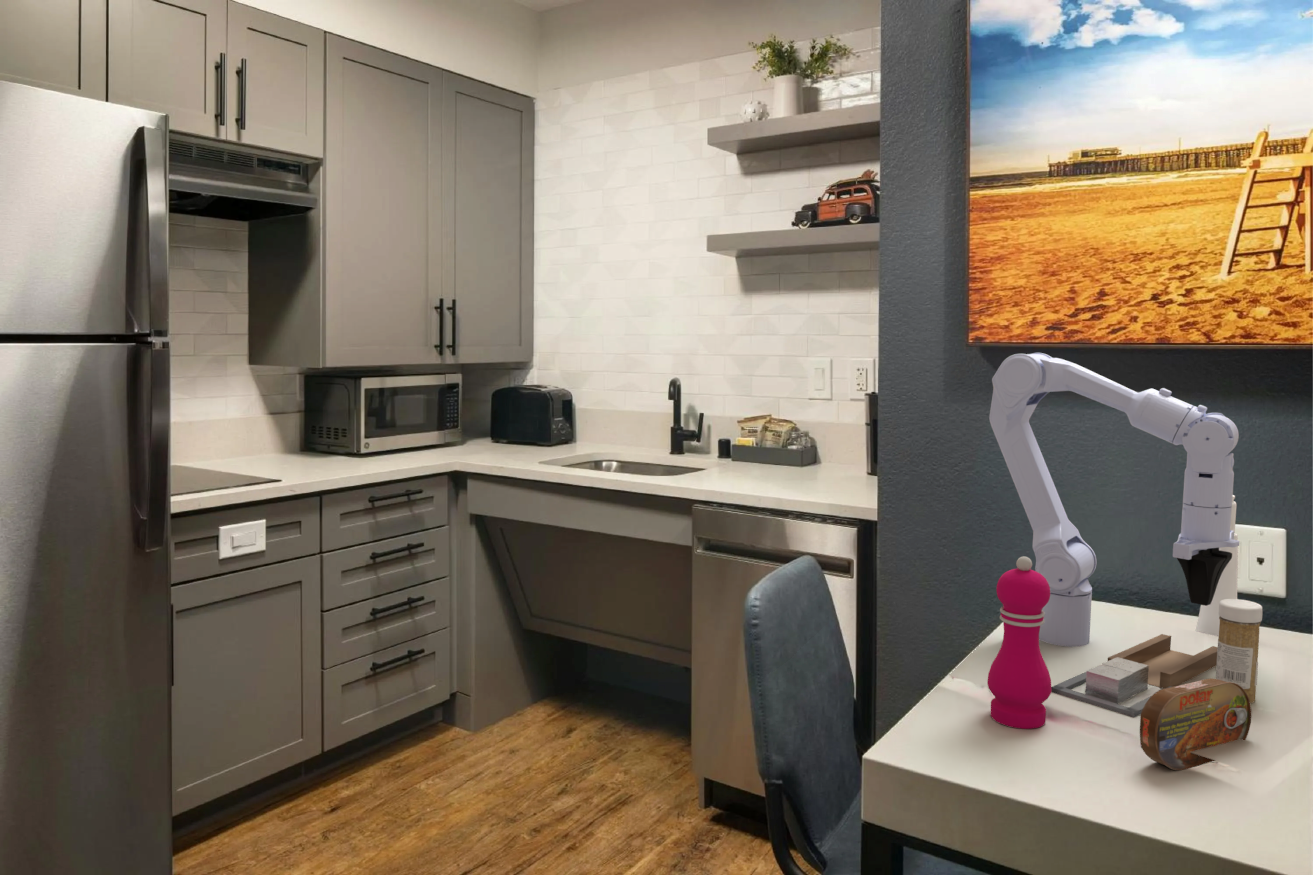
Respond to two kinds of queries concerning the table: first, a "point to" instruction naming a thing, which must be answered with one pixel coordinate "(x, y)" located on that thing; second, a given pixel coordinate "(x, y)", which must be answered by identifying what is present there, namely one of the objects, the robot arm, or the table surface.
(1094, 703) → the tray
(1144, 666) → the grey cube
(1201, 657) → the slot board
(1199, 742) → the tin
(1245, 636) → the sprinkles bottle
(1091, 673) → the light grey cube
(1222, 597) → the cosmetic bottle
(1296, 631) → the table surface
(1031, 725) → the pepper mill
